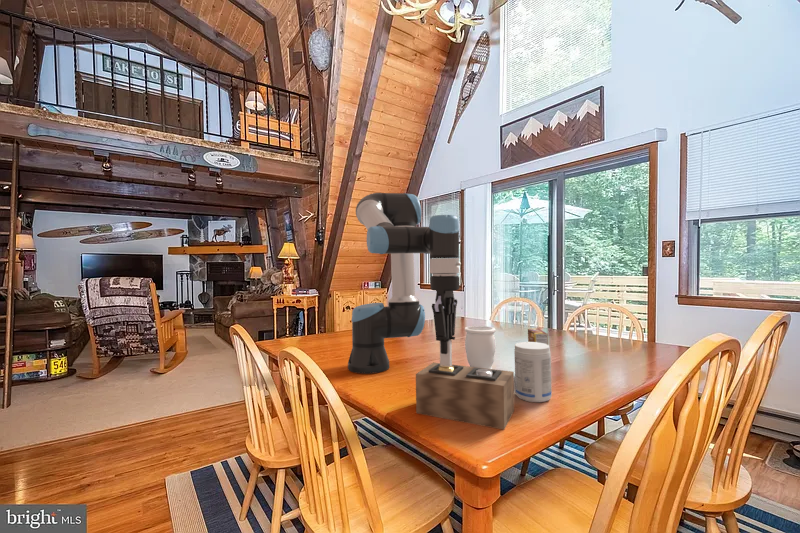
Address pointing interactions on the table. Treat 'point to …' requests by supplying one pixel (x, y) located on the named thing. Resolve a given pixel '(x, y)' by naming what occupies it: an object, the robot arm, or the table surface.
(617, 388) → the table surface
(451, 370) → the brass peg
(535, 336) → the candy box
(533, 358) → the supplement tub
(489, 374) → the steel peg
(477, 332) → the jar
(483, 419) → the walnut block
